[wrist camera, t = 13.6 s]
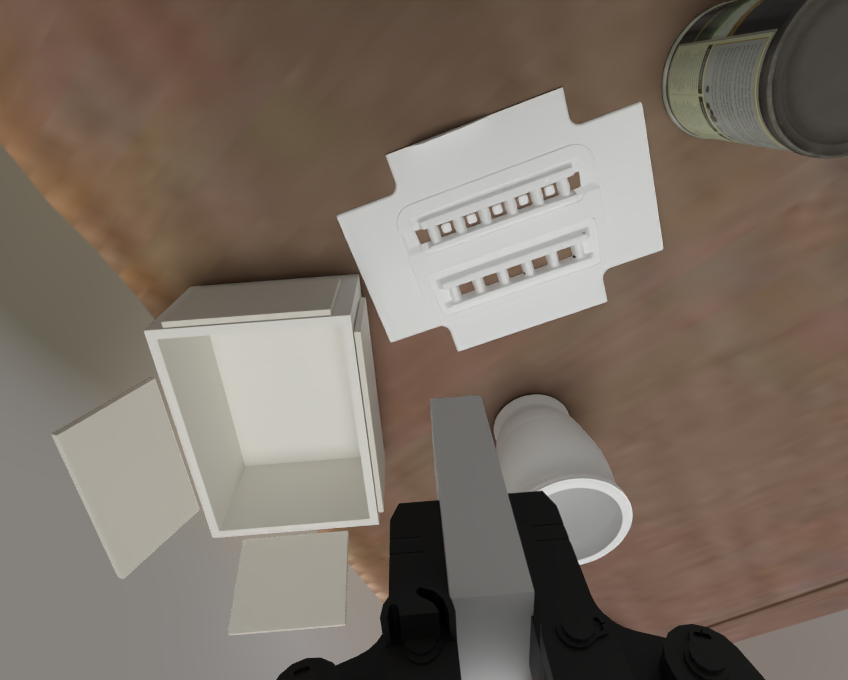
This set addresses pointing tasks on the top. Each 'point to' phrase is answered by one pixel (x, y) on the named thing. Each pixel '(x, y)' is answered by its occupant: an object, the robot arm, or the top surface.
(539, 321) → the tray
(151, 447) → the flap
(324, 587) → the end flap
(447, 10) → the top surface
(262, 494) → the carton
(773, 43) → the coffee can
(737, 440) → the top surface
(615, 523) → the jar
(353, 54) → the top surface
